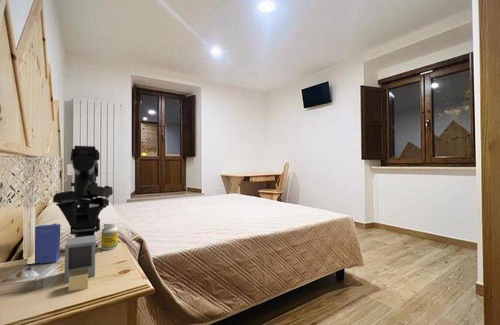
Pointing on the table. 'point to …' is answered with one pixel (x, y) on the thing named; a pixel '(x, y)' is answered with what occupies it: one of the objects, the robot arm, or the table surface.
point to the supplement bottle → (109, 236)
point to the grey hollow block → (80, 255)
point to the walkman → (47, 243)
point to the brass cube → (78, 280)
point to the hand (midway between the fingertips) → (83, 226)
